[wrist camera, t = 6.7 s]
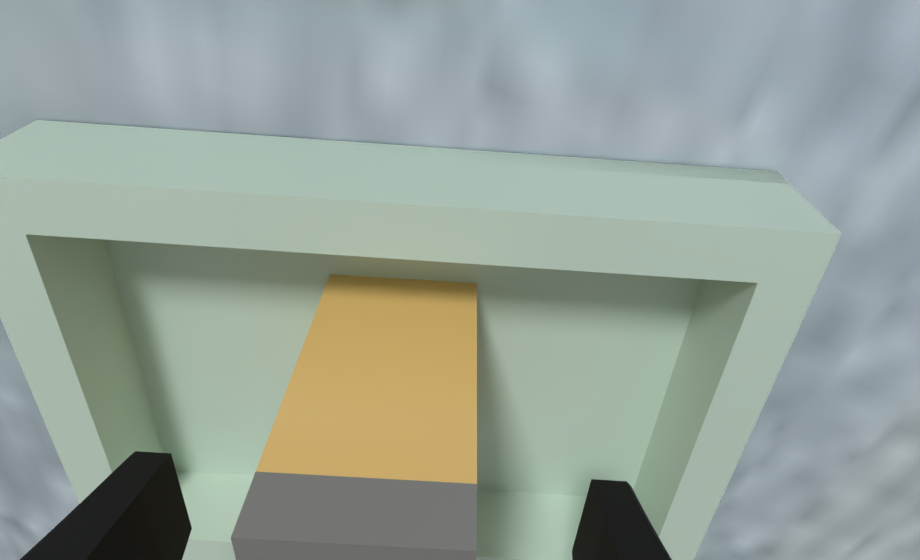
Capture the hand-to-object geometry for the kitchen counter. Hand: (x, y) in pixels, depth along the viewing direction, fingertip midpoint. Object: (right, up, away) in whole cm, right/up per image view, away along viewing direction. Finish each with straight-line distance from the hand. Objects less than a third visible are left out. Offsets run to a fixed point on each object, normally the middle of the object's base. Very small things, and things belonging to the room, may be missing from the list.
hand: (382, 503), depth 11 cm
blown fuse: (0, +2, +3) cm, 4 cm away
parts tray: (0, +2, +4) cm, 4 cm away
